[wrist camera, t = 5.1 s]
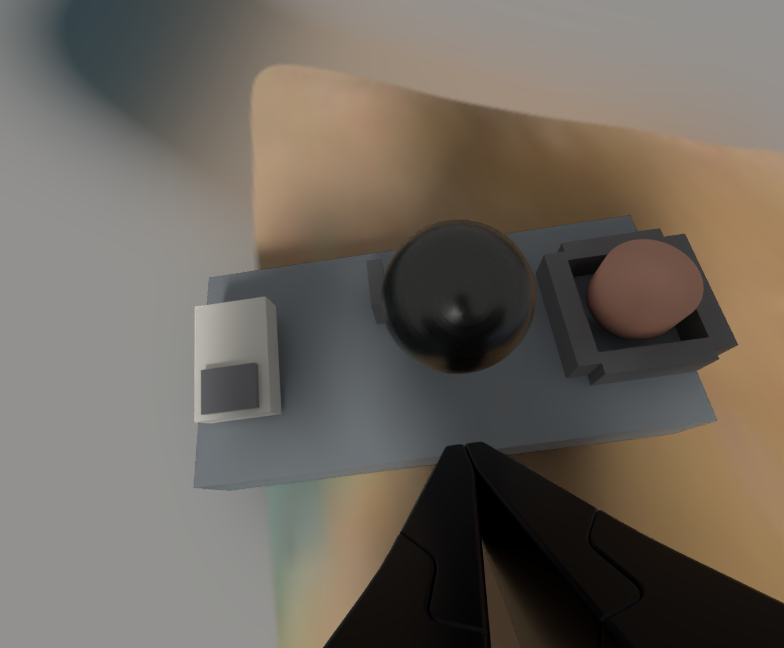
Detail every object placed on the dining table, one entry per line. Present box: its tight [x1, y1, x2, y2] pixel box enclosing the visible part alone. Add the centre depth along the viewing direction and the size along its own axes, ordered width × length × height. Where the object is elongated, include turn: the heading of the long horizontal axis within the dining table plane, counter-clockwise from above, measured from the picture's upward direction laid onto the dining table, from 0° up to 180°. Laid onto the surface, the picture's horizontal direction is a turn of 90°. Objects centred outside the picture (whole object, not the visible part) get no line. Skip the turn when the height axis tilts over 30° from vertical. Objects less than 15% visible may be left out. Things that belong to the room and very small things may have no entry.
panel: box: [194, 215, 738, 491], centre depth 18 cm, size 9×20×5 cm, turn 97°
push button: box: [586, 239, 704, 340], centre depth 15 cm, size 3×3×2 cm
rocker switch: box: [194, 297, 282, 424], centre depth 16 cm, size 4×3×2 cm, turn 7°
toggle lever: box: [380, 220, 536, 374], centre depth 11 cm, size 2×2×12 cm
